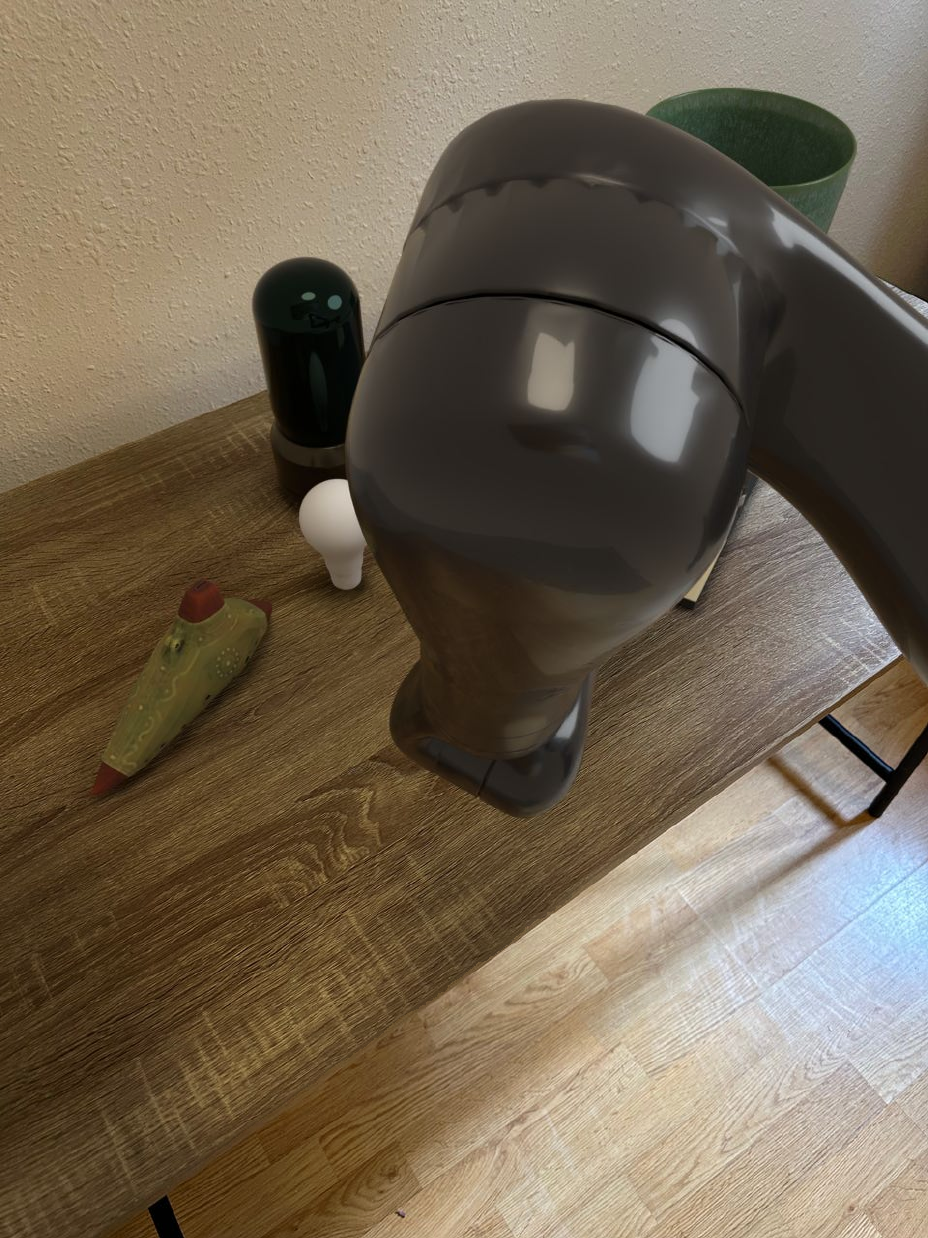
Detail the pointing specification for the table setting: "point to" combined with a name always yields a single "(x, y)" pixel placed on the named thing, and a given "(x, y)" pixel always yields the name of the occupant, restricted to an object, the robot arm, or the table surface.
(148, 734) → the ocarina
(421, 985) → the table surface
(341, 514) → the lightbulb
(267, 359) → the lamp
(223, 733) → the table surface
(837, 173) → the planter
